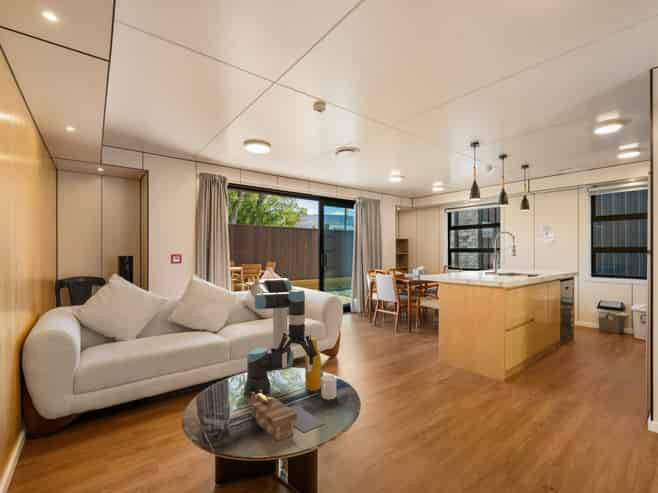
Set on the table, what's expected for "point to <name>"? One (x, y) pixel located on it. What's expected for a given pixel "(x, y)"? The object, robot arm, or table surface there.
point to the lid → (275, 413)
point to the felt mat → (305, 420)
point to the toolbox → (277, 432)
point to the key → (265, 398)
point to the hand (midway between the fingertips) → (296, 369)
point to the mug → (328, 387)
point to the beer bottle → (313, 371)
